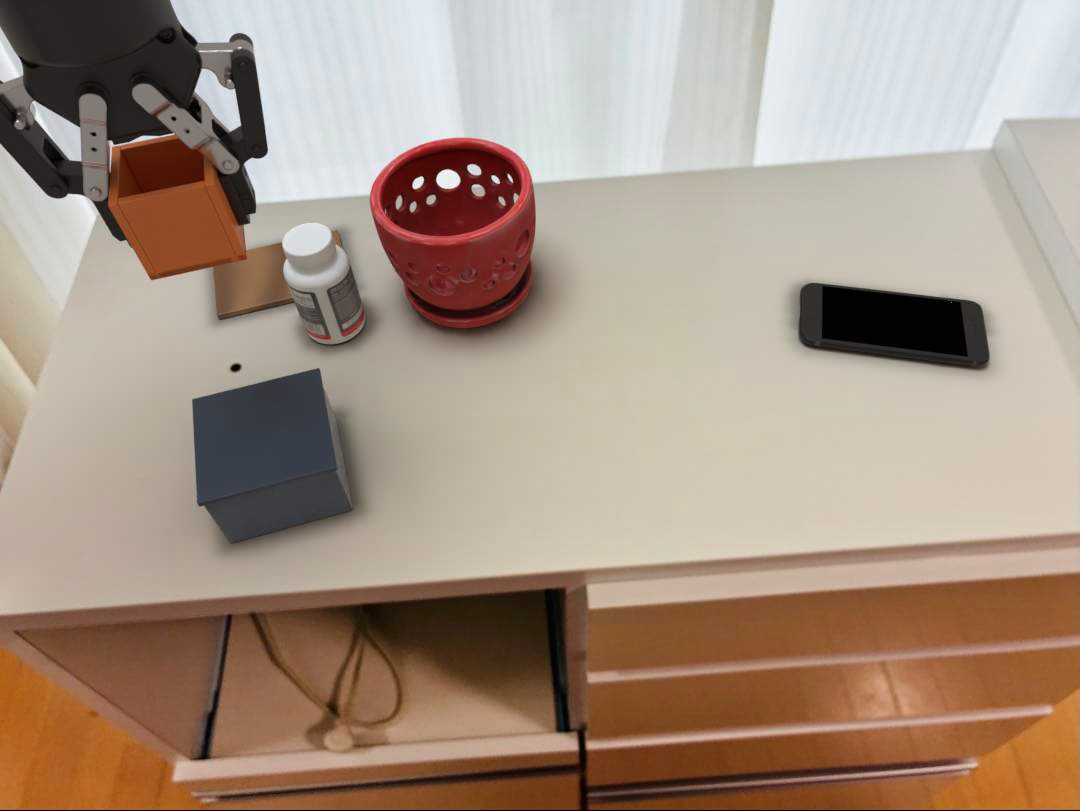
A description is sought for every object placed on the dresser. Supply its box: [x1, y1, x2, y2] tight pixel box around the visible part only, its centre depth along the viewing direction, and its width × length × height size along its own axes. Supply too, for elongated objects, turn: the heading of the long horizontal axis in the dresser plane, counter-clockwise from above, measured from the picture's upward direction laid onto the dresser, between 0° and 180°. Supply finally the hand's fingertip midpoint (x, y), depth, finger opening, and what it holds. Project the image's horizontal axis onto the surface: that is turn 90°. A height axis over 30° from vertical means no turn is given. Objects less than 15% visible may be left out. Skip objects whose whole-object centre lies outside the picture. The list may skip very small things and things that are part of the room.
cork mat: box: [212, 229, 343, 320], centre depth 77 cm, size 12×8×1 cm, turn 107°
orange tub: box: [108, 133, 247, 281], centre depth 48 cm, size 6×6×6 cm
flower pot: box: [369, 137, 537, 329], centre depth 70 cm, size 13×13×12 cm
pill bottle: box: [281, 222, 367, 345], centre depth 69 cm, size 5×5×10 cm
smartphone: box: [798, 282, 991, 367], centre depth 69 cm, size 7×15×1 cm, turn 78°
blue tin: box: [191, 367, 354, 544], centre depth 61 cm, size 9×9×6 cm
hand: (192, 226), depth 50 cm, fingers closed on orange tub, 5 cm apart
